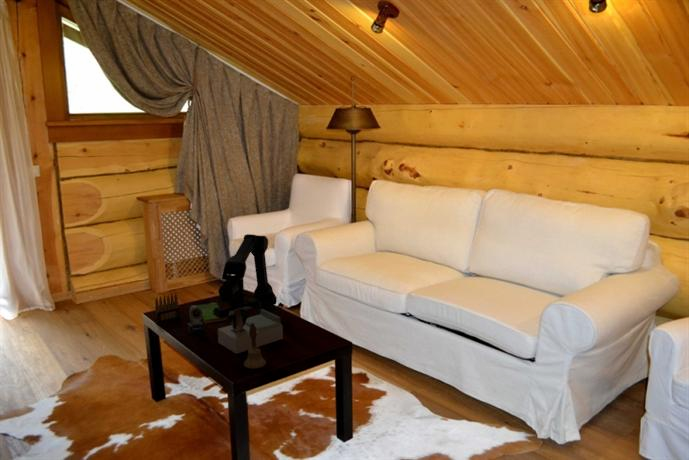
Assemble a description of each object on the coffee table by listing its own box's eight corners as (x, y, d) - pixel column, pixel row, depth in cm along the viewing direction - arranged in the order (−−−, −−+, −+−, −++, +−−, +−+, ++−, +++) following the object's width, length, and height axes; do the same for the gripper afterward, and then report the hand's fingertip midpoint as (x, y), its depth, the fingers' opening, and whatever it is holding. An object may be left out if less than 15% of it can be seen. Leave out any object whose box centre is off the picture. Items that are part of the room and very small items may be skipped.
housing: (264, 328, 248) (263, 315, 247) (282, 338, 237) (282, 325, 236) (218, 342, 234) (217, 329, 233) (236, 353, 224) (235, 339, 222)
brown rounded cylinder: (240, 328, 233) (239, 315, 232) (244, 330, 231) (243, 317, 229) (232, 330, 231) (232, 317, 230) (237, 332, 229) (236, 319, 227)
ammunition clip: (178, 317, 262) (176, 292, 259) (180, 318, 261) (178, 293, 258) (155, 322, 255) (153, 297, 253) (157, 324, 254) (155, 298, 251)
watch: (192, 335, 242) (190, 310, 239) (186, 328, 248) (184, 304, 246) (205, 332, 245) (203, 307, 242) (199, 326, 251) (197, 302, 249)
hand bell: (256, 370, 210) (254, 329, 206) (239, 365, 214) (237, 325, 210) (270, 362, 217) (269, 322, 213) (253, 357, 221) (252, 317, 217)
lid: (263, 316, 246) (263, 309, 245) (280, 324, 236) (280, 317, 235) (242, 322, 239) (241, 315, 238) (258, 331, 230) (258, 323, 229)
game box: (205, 326, 254) (195, 309, 272) (227, 322, 259) (216, 306, 276) (205, 319, 254) (195, 303, 271) (226, 316, 258) (215, 300, 276)
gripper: (246, 281, 239) (247, 316, 243) (205, 291, 227) (207, 328, 231) (260, 287, 231) (262, 324, 234) (219, 298, 219) (221, 336, 222)
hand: (238, 327), depth 231 cm, fingers closed on brown rounded cylinder, 3 cm apart
